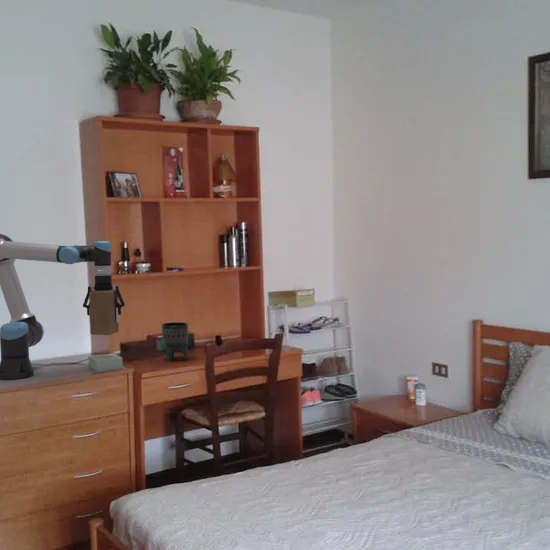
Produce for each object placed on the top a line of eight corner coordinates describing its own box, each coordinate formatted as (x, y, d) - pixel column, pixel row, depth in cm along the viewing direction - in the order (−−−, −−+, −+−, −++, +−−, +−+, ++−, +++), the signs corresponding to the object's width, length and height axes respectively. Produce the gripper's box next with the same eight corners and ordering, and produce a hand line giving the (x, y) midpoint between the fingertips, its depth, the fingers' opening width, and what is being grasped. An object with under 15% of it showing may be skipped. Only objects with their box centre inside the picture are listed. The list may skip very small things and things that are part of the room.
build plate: (93, 375, 300) (93, 372, 299) (83, 368, 313) (83, 366, 313) (128, 370, 308) (128, 368, 308) (116, 364, 322) (116, 362, 321)
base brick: (96, 371, 302) (96, 360, 302) (88, 367, 312) (88, 356, 312) (122, 368, 309) (122, 357, 308) (113, 363, 319) (113, 353, 318)
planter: (177, 363, 324) (176, 326, 323) (156, 360, 331) (156, 324, 330) (193, 358, 335) (193, 323, 334) (173, 356, 342) (173, 321, 341)
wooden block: (110, 335, 303) (109, 291, 302) (89, 334, 305) (88, 291, 304) (119, 331, 313) (118, 289, 312) (99, 331, 315) (98, 288, 314)
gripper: (75, 275, 302) (76, 323, 304) (128, 275, 305) (129, 322, 306) (78, 274, 310) (79, 321, 312) (130, 273, 312) (131, 320, 314)
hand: (104, 322), depth 309 cm, fingers closed on wooden block, 11 cm apart
